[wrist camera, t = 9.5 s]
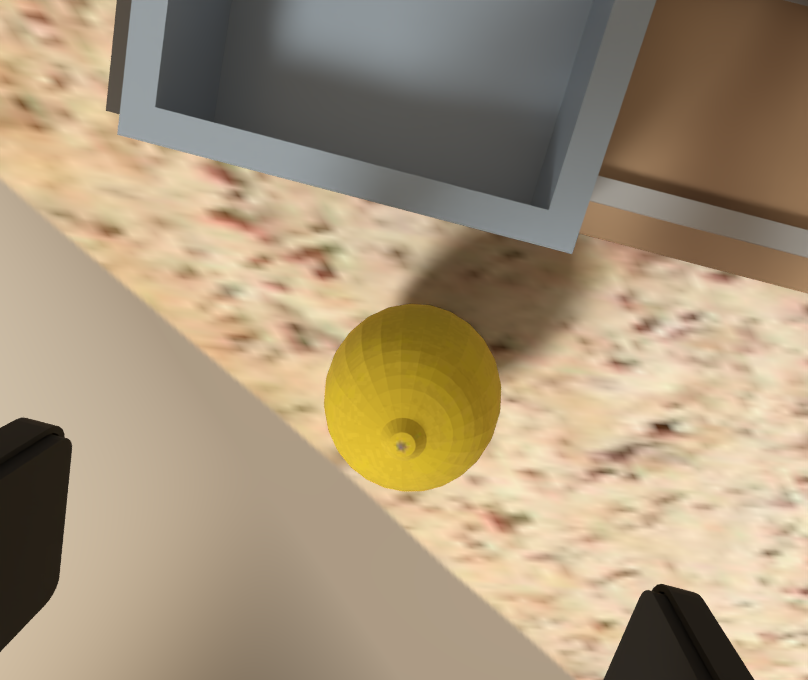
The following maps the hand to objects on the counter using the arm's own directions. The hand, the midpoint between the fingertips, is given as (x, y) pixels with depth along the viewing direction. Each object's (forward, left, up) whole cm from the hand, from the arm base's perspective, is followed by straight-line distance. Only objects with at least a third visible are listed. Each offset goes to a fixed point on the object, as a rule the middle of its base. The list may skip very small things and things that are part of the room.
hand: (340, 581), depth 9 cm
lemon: (-1, 0, -14) cm, 14 cm away
